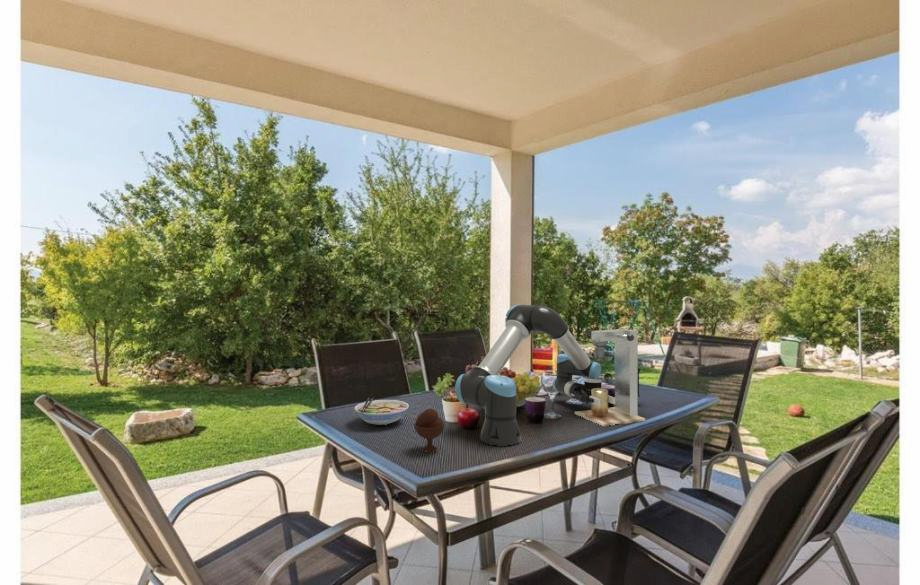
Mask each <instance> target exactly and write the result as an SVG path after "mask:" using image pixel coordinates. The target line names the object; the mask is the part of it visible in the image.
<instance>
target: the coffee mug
mask: <svg viewBox="0 0 920 585" xmlns="http://www.w3.org/2000/svg"><path fill="white" fill-rule="evenodd" d="M583 380H584V381H583V383H582V384H583V385H584V386H585V387H586V388H587V389H589V390H591V389H594V388H601V389H602V383H603V381H602V380H601V379H597V378H588V379H583Z"/></svg>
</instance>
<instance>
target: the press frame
mask: <svg viewBox="0 0 920 585" xmlns="http://www.w3.org/2000/svg"><path fill="white" fill-rule="evenodd" d="M638 338H639V337H638V330H633V329H625V328H624V329H623V328H618V329H617V328H615V329H606V330H605V329H603V330H602V329H601V330H591V339H590V340H591V341H592V346H594V359H595V360H599V361H602V360H603V361H604V360H605V346H607V342H614V398H615V404H614V407H615V411H617V412H620V413H622V414H625V415H627V416H639V414H638V410H639V409H638V403H639V402H638V398H639V397H638V368H639V366H638V359H639V358H638V347H639V346H638Z"/></svg>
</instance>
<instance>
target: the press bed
mask: <svg viewBox="0 0 920 585" xmlns="http://www.w3.org/2000/svg"><path fill="white" fill-rule="evenodd" d="M574 415H576V416H578V417H580V416H581V418H582V417H583V419H585V420H587V421H589V420H590V422H591V421H592V423H594V424H596V423H597V424H596V425H598V424H599V425H598V426H600V425H601V426H600V427H602V426H603V427H610V426H609V425H611V426H616V425H615V424H619V425H625V424H633V422H634V423H640V422H641V421H642V422H646V420H647V419H646V418H645V417H642V416H640V415H638V416H627V415H625V414H622V413H620V412H617V411H615V406H613V407H608V414H607V415H595V414H592V413H591V409H587V410H578V411H574ZM642 422H641V423H642Z"/></svg>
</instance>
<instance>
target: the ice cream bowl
mask: <svg viewBox="0 0 920 585" xmlns="http://www.w3.org/2000/svg"><path fill="white" fill-rule="evenodd" d="M415 420H416V421H415V422H414V424H413V426H414V430H415V432H416V433H417V434H418V436H420V437H422V439H425V440H426V441H427V442H426V443H427V444H426V445H424V446H423V447H422V449H421V451H422V450H423V451H427V452H433V451H436V450H437V449H438V447H437V446H435V445H434V444H433V440H434V439H436V438H439V436H441V434H442V433H443V430H444V428H445V425H446V422H445V421H444V420H443V419H442V417H440V416H439V414H438V411H437V410H436V409H433V408H426V409H425V410H424V411H422V412H420V413H419V414H418V415H417V418H416V419H415ZM423 451H422V452H423ZM437 451H438V450H437ZM437 451H436V452H437Z"/></svg>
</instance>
